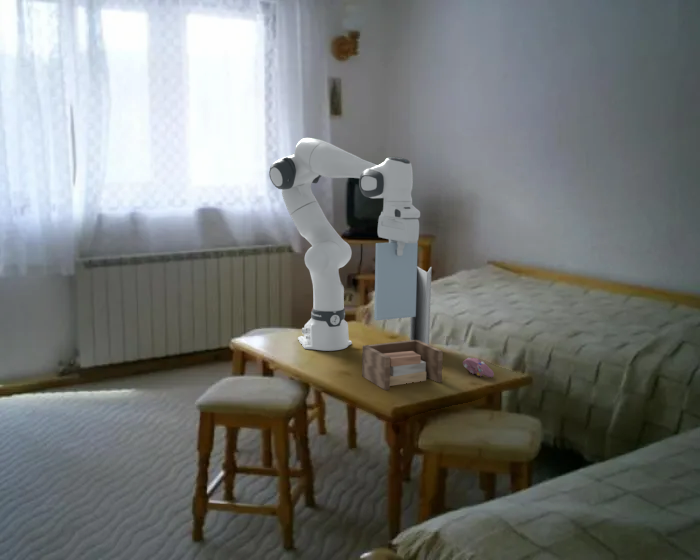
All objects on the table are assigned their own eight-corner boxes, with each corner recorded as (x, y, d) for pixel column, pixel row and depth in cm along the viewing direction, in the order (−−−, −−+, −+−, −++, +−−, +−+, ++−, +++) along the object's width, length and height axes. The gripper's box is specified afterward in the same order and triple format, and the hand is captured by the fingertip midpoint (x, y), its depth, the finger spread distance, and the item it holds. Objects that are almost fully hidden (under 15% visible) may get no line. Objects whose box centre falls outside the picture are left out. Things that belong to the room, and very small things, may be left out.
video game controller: (464, 376, 239) (458, 359, 236) (474, 368, 241) (467, 351, 238) (486, 384, 231) (480, 366, 228) (496, 375, 233) (490, 358, 230)
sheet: (374, 319, 229) (375, 243, 225) (413, 315, 235) (415, 241, 231) (376, 320, 227) (378, 243, 223) (415, 316, 233) (417, 241, 229)
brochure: (425, 357, 255) (427, 272, 250) (409, 356, 256) (411, 272, 251) (429, 347, 268) (431, 266, 263) (414, 346, 269) (416, 266, 264)
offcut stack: (379, 380, 229) (379, 353, 228) (415, 375, 235) (415, 349, 233) (389, 386, 223) (390, 359, 221) (426, 381, 228) (427, 354, 227)
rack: (362, 376, 232) (362, 345, 231) (416, 369, 241) (417, 339, 239) (384, 390, 219) (385, 357, 217) (441, 382, 227) (442, 350, 226)
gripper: (373, 208, 233) (372, 251, 235) (404, 213, 215) (403, 259, 217) (390, 207, 236) (389, 250, 238) (423, 212, 218) (422, 258, 220)
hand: (396, 254), depth 227 cm, fingers closed on sheet, 2 cm apart
